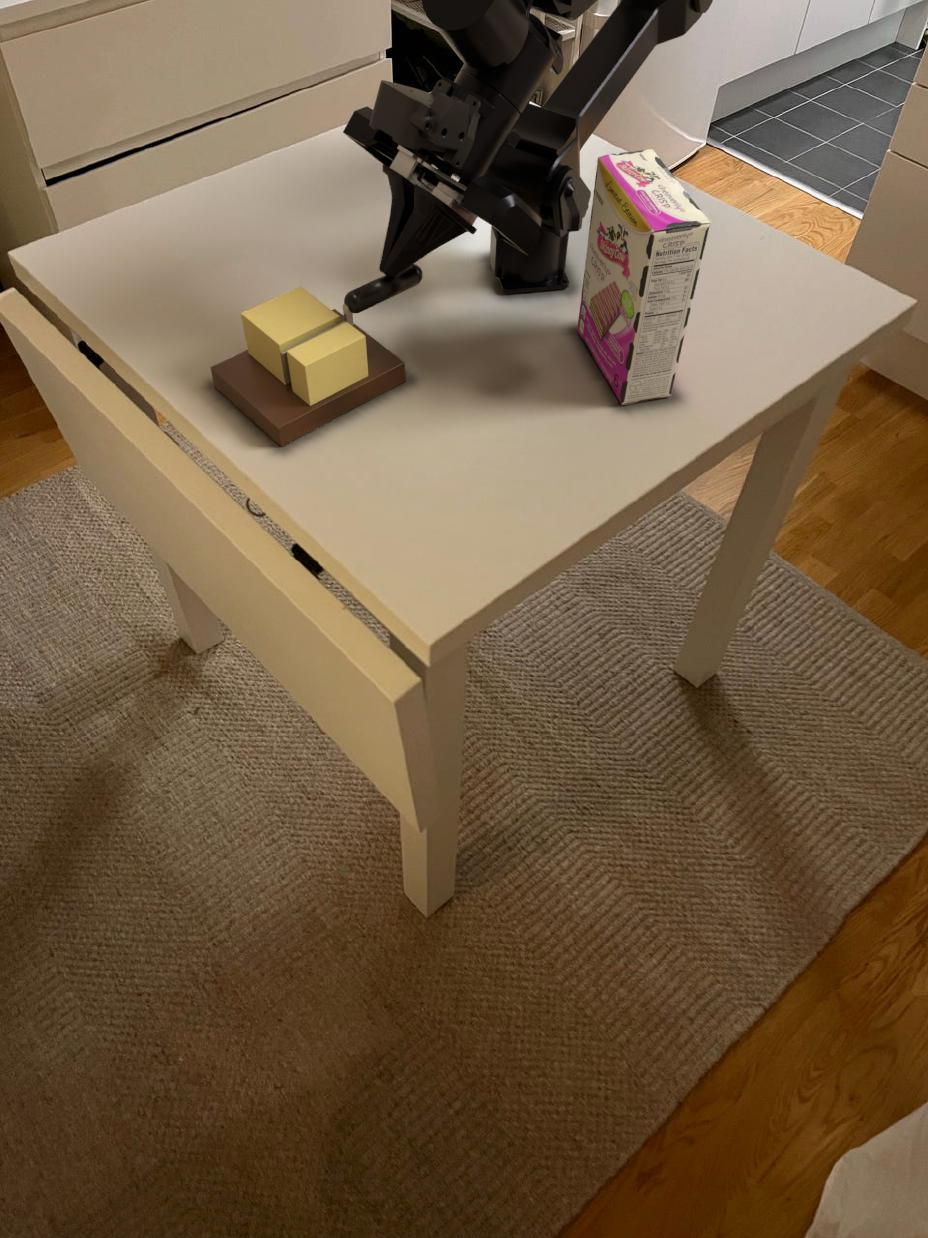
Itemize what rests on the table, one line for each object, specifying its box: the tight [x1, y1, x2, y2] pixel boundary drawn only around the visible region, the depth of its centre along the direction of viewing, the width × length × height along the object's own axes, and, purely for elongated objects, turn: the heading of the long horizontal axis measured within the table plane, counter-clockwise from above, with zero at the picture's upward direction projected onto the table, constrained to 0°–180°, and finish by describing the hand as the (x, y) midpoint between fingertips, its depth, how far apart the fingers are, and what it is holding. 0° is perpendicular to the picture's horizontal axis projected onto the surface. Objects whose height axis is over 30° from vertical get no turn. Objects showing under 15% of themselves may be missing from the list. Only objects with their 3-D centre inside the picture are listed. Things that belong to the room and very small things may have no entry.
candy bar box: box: [576, 148, 712, 406], centre depth 79 cm, size 11×5×16 cm, turn 17°
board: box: [209, 308, 407, 448], centre depth 82 cm, size 13×10×2 cm
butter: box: [240, 286, 368, 406], centre depth 80 cm, size 6×9×4 cm, turn 41°
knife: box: [280, 263, 424, 384], centre depth 80 cm, size 14×2×5 cm, turn 131°
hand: (385, 274), depth 79 cm, fingers closed, pressing on knife
